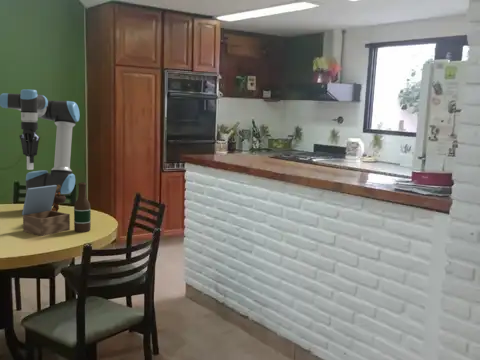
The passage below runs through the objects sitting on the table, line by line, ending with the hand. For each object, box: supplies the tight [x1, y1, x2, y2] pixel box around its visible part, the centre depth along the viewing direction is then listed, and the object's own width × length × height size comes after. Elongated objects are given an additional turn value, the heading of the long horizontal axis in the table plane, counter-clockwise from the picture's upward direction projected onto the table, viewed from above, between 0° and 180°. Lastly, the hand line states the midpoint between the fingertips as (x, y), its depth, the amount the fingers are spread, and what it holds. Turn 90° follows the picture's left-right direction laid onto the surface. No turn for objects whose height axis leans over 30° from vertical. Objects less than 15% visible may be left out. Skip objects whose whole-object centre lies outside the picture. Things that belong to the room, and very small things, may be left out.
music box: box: [51, 185, 67, 212], centre depth 263 cm, size 15×11×20 cm
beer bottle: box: [73, 181, 92, 233], centre depth 246 cm, size 8×8×24 cm
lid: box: [21, 185, 57, 216], centre depth 246 cm, size 16×14×1 cm
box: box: [22, 210, 71, 237], centre depth 244 cm, size 16×14×8 cm
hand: (30, 169), depth 247 cm, fingers closed
